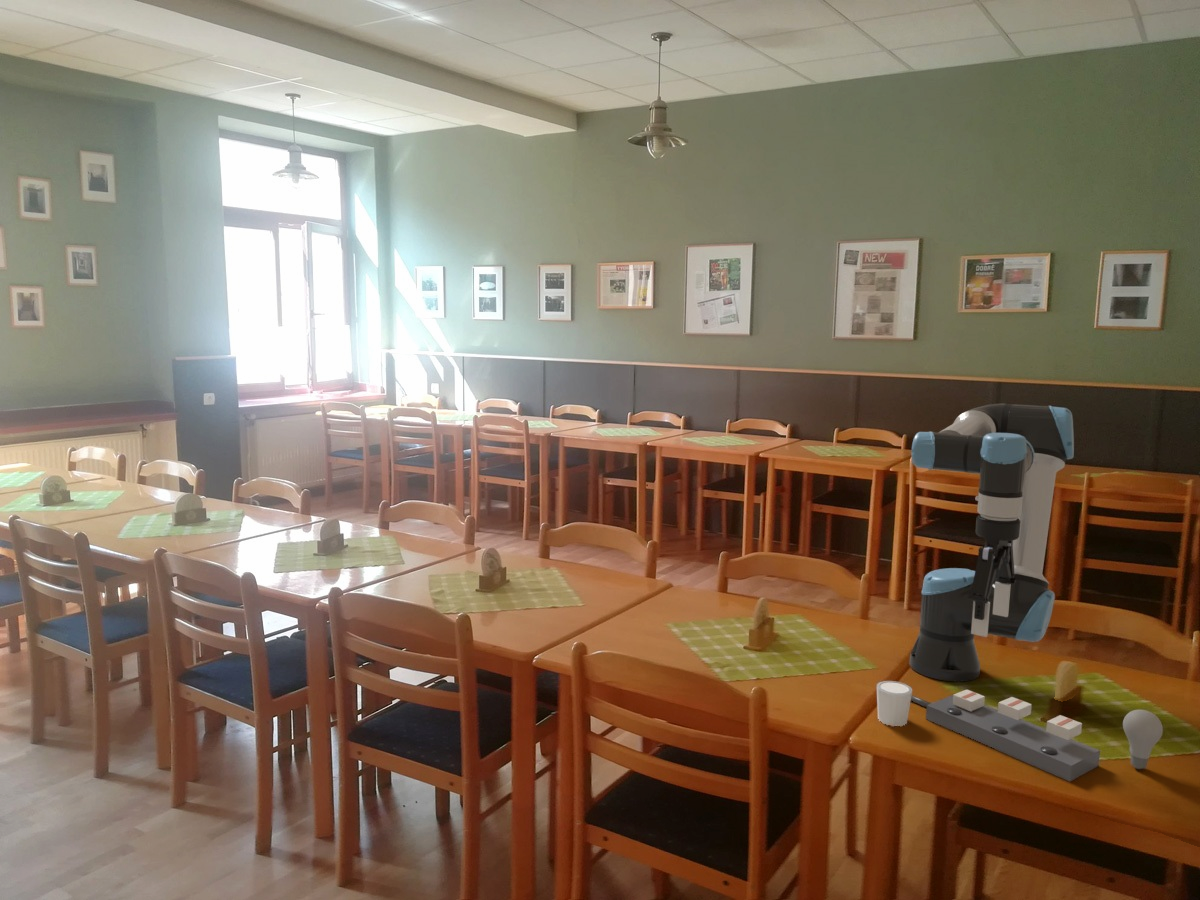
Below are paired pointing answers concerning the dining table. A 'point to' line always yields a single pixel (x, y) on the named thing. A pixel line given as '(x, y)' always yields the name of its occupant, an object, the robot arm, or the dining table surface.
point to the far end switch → (1064, 727)
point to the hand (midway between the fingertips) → (990, 624)
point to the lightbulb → (1141, 735)
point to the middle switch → (1014, 708)
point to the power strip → (1015, 738)
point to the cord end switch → (968, 700)
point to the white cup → (893, 702)
